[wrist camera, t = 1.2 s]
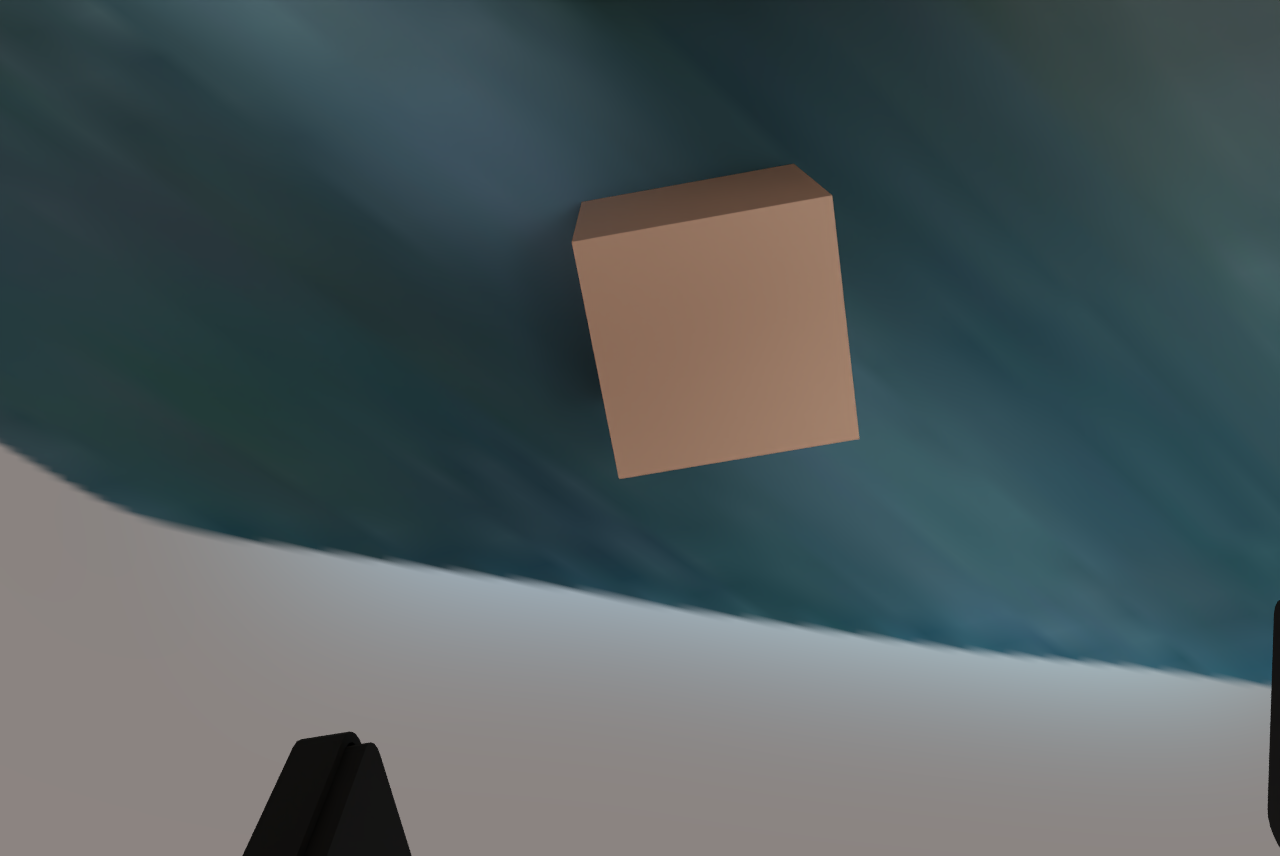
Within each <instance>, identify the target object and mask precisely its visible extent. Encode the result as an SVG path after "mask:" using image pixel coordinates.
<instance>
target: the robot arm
mask: <svg viewBox="0 0 1280 856" xmlns="http://www.w3.org/2000/svg"><path fill="white" fill-rule="evenodd" d="M1268 818H1269V822H1270V827H1271V830H1272V832H1273V835H1274V837H1275V839H1276V841H1277V843H1278V845H1279V847H1280V600H1279V601H1278V602H1277V604H1276V606H1275V611H1274V630H1273V660H1272V691H1271V722H1270V753H1269V783H1268ZM243 856H411V853H410V850H409V846H408V843H407V840H406V836H405V833H404V830H403V827H402V824H401V820H400V817H399V814H398V811H397V808H396V804H395V801H394V798H393V795H392V791H391V788H390V785H389V782H388V779H387V776H386V772H385V769H384V766H383V763H382V759H381V756H380V753H379V751H378V748H377V747H376V745H375V744H374V743H365V744H361V742H360V740H359V738H358V737H357V735H356V734H355V733H353V732H345V733H338V734H332V735H326V736H319V737H313V738H307V739H301V740H299V741H297V742H296V744H295V745H294V747H293V748H292V751H291V753H290V755H289V757H288V759H287V761H286V764H285V766H284V768H283V770H282V772H281V774H280V776H279V779H278V781H277V783H276V785H275V787H274V789H273V791H272V793H271V796H270V798H269V800H268V802H267V804H266V806H265V808H264V811H263V813H262V815H261V817H260V819H259V822H258V824H257V826H256V828H255V830H254V832H253V834H252V837H251V839H250V841H249V843H248V845H247V847H246V849H245V851H244V854H243Z"/></svg>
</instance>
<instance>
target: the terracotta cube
mask: <svg viewBox="0 0 1280 856" xmlns="http://www.w3.org/2000/svg"><path fill="white" fill-rule="evenodd" d="M572 246H573V251H574V256H575V261H576V266H577V271H578V276H579V281H580V286H581V291H582V296H583V301H584V306H585V311H586V316H587V321H588V326H589V331H590V336H591V341H592V346H593V351H594V356H595V361H596V366H597V371H598V376H599V381H600V386H601V391H602V396H603V401H604V406H605V411H606V416H607V421H608V426H609V431H610V436H611V441H612V446H613V451H614V456H615V461H616V466H617V471H618V476H619V479H623V478H629V477H635V476H640V475H646V474H652V473H658V472H664V471H670V470H676V469H682V468H688V467H694V466H700V465H706V464H712V463H718V462H724V461H730V460H736V459H742V458H748V457H754V456H760V455H766V454H772V453H778V452H784V451H790V450H796V449H802V448H808V447H814V446H820V445H826V444H832V443H838V442H844V441H850V440H856V439H859V431H858V422H857V413H856V404H855V395H854V386H853V377H852V368H851V359H850V350H849V341H848V333H847V324H846V315H845V306H844V297H843V288H842V279H841V270H840V261H839V252H838V243H837V234H836V225H835V216H834V207H833V198H832V195H831V194H830V193H829V192H827V191H826V190H825V189H824V188H823V187H821V186H820V185H819V184H818V183H817V182H815V181H814V180H813V179H812V178H811V177H809V176H808V175H807V174H806V173H804V172H803V171H802V170H801V169H800V168H798V167H797V166H796V165H795V164H790V165H784V166H778V167H773V168H767V169H762V170H756V171H751V172H745V173H740V174H734V175H729V176H723V177H717V178H712V179H706V180H701V181H695V182H690V183H684V184H679V185H673V186H668V187H662V188H657V189H651V190H645V191H640V192H634V193H629V194H623V195H618V196H612V197H607V198H601V199H596V200H590V201H584V202H582V203H581V207H580V211H579V215H578V219H577V223H576V227H575V231H574V235H573V239H572Z"/></svg>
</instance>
